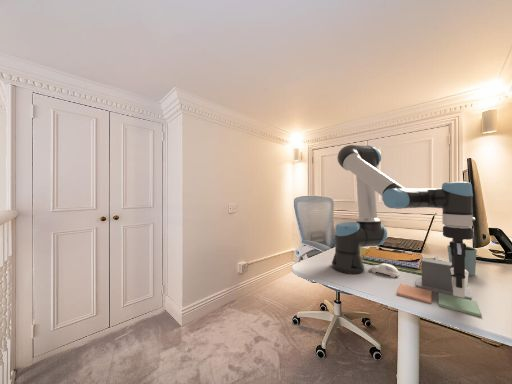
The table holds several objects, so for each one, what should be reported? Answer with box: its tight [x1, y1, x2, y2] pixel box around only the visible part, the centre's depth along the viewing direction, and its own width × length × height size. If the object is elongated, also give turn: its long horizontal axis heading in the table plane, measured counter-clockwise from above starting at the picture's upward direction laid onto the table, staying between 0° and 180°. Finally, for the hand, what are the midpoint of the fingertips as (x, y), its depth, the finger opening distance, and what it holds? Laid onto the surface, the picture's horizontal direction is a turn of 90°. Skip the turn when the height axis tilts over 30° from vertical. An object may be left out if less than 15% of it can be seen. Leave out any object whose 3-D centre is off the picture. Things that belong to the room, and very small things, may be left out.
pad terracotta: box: [396, 283, 433, 305], centre depth 79 cm, size 10×10×1 cm
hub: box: [415, 257, 473, 301], centre depth 82 cm, size 16×8×11 cm, turn 49°
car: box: [369, 262, 401, 278], centre depth 99 cm, size 12×6×5 cm, turn 48°
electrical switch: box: [429, 255, 440, 260], centre depth 93 cm, size 9×5×9 cm, turn 141°
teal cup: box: [446, 244, 478, 277], centre depth 100 cm, size 10×10×12 cm
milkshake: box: [447, 264, 469, 296], centre depth 71 cm, size 4×5×10 cm
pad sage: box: [437, 292, 483, 318], centre depth 71 cm, size 10×10×1 cm
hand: (458, 293), depth 71 cm, fingers closed on milkshake, 4 cm apart
